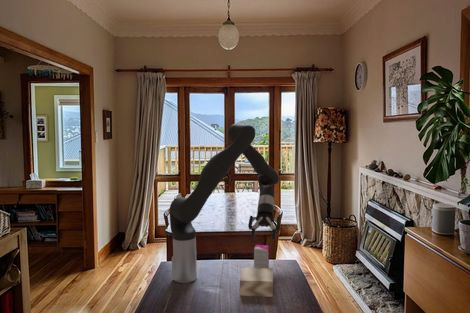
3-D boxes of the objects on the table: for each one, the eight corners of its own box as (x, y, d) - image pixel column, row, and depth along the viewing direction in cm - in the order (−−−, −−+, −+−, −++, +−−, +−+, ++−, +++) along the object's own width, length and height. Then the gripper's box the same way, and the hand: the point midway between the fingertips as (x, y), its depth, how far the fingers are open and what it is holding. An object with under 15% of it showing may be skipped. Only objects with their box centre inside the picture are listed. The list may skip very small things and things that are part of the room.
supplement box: (267, 276, 141) (267, 249, 140) (253, 275, 142) (253, 248, 141) (269, 271, 147) (269, 244, 146) (255, 270, 148) (255, 244, 147)
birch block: (240, 296, 125) (239, 280, 125) (242, 281, 137) (242, 267, 137) (273, 297, 124) (273, 281, 124) (272, 282, 136) (272, 268, 136)
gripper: (249, 201, 161) (246, 233, 150) (280, 202, 158) (279, 234, 148) (251, 210, 166) (248, 241, 156) (281, 211, 163) (280, 242, 153)
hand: (263, 237), depth 152 cm, fingers open, 8 cm apart
